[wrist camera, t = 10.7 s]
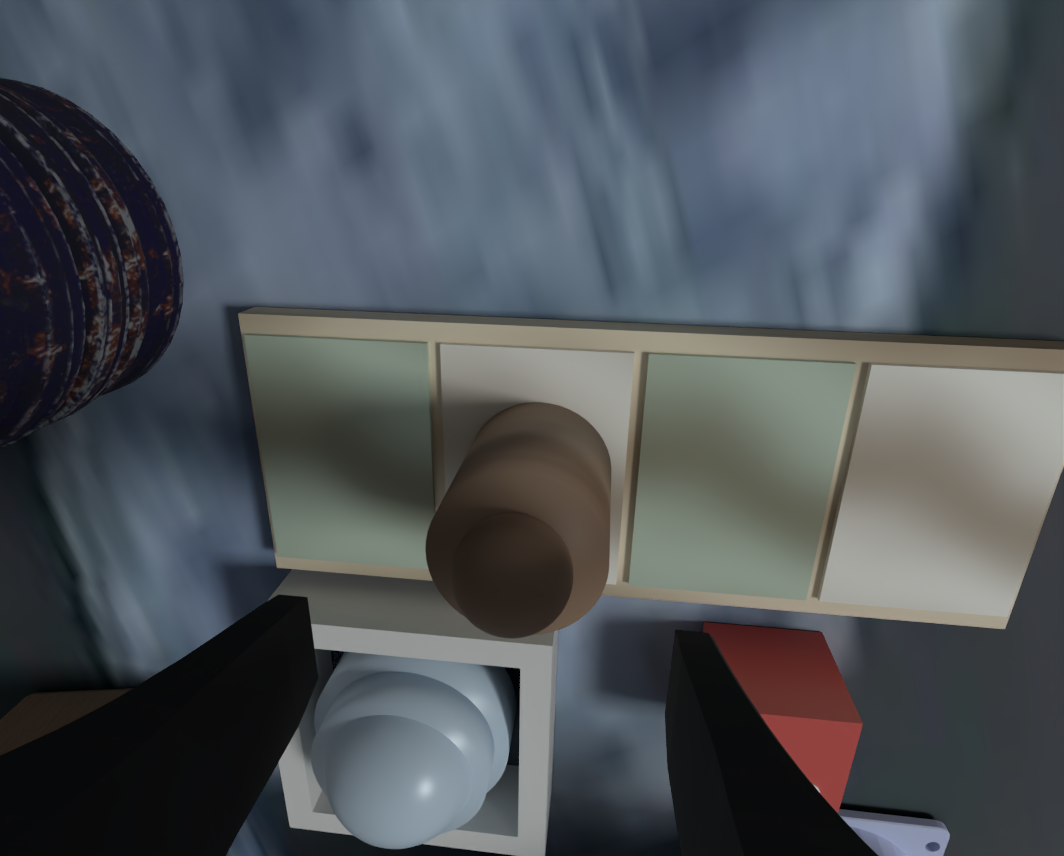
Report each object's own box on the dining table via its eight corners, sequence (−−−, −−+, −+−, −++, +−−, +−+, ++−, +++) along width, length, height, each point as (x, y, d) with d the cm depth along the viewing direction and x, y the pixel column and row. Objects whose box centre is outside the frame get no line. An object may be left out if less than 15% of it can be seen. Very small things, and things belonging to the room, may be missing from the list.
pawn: (606, 537, 21) (600, 705, 14) (469, 525, 21) (404, 683, 15) (616, 407, 19) (616, 529, 13) (468, 397, 19) (394, 510, 13)
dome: (515, 773, 26) (492, 919, 21) (344, 754, 26) (282, 891, 21) (517, 629, 23) (491, 757, 18) (327, 612, 24) (251, 731, 19)
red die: (801, 719, 24) (837, 823, 20) (691, 709, 24) (705, 808, 21) (822, 632, 22) (863, 726, 19) (703, 621, 23) (721, 712, 19)
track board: (987, 609, 21) (1008, 633, 20) (289, 552, 24) (274, 570, 23) (1079, 342, 18) (1110, 353, 17) (254, 306, 20) (234, 314, 19)
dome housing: (551, 787, 27) (544, 859, 24) (322, 761, 28) (289, 827, 25) (559, 588, 23) (552, 646, 20) (294, 566, 24) (253, 618, 21)
